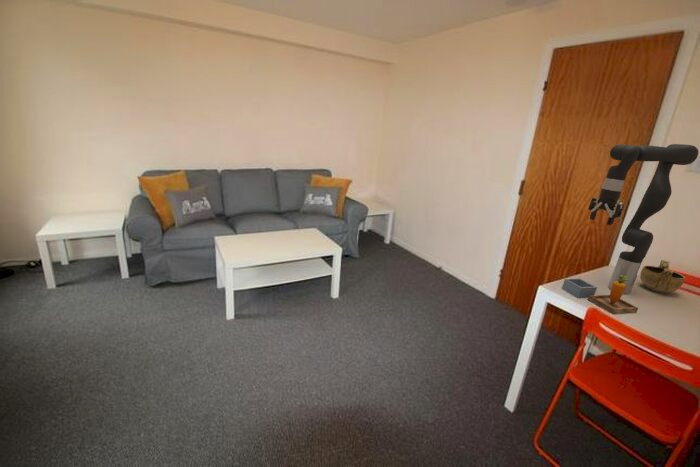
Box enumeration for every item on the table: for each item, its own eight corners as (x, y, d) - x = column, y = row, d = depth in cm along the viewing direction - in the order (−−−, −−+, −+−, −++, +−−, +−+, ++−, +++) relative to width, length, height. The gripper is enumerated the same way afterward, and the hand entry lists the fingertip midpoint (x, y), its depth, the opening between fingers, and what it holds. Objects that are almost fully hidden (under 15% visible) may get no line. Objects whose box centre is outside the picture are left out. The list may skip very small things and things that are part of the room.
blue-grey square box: (576, 288, 172) (579, 278, 171) (593, 297, 164) (597, 287, 162) (561, 288, 170) (564, 278, 168) (578, 298, 161) (581, 287, 159)
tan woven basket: (679, 303, 167) (691, 275, 162) (636, 290, 177) (646, 264, 172) (674, 289, 184) (686, 264, 179) (635, 278, 194) (645, 254, 189)
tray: (610, 298, 164) (612, 294, 163) (636, 312, 153) (638, 307, 152) (587, 299, 160) (589, 295, 159) (612, 314, 149) (614, 309, 148)
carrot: (614, 302, 158) (625, 273, 154) (621, 307, 153) (632, 278, 149) (603, 300, 159) (614, 272, 154) (609, 306, 154) (621, 276, 149)
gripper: (633, 192, 149) (620, 227, 155) (603, 186, 162) (592, 218, 168) (620, 191, 147) (608, 226, 153) (591, 185, 160) (581, 217, 165)
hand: (600, 222), depth 160 cm, fingers open, 8 cm apart
